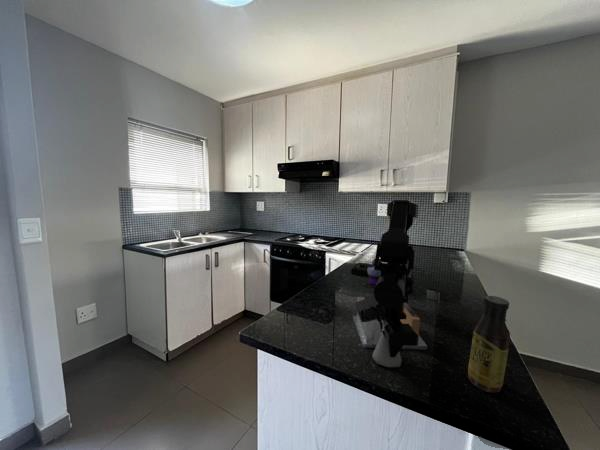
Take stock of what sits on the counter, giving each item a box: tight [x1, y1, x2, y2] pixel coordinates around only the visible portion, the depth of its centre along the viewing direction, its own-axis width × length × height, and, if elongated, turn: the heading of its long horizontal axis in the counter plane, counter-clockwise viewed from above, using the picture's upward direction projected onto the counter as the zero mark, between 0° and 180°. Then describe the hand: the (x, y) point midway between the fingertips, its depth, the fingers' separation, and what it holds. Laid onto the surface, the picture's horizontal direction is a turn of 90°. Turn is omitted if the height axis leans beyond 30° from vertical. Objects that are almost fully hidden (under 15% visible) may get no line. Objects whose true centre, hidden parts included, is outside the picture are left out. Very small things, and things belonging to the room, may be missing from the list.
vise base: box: [352, 296, 428, 351], centre depth 75 cm, size 17×16×8 cm
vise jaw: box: [400, 303, 421, 340], centre depth 75 cm, size 2×14×8 cm, turn 178°
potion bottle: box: [367, 258, 383, 287], centre depth 115 cm, size 9×9×12 cm
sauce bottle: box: [467, 295, 511, 394], centre depth 54 cm, size 6×6×20 cm
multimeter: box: [350, 262, 374, 278], centre depth 130 cm, size 13×19×5 cm
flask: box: [371, 320, 403, 368], centre depth 63 cm, size 7×7×10 cm
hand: (388, 349), depth 63 cm, fingers closed on flask, 5 cm apart
